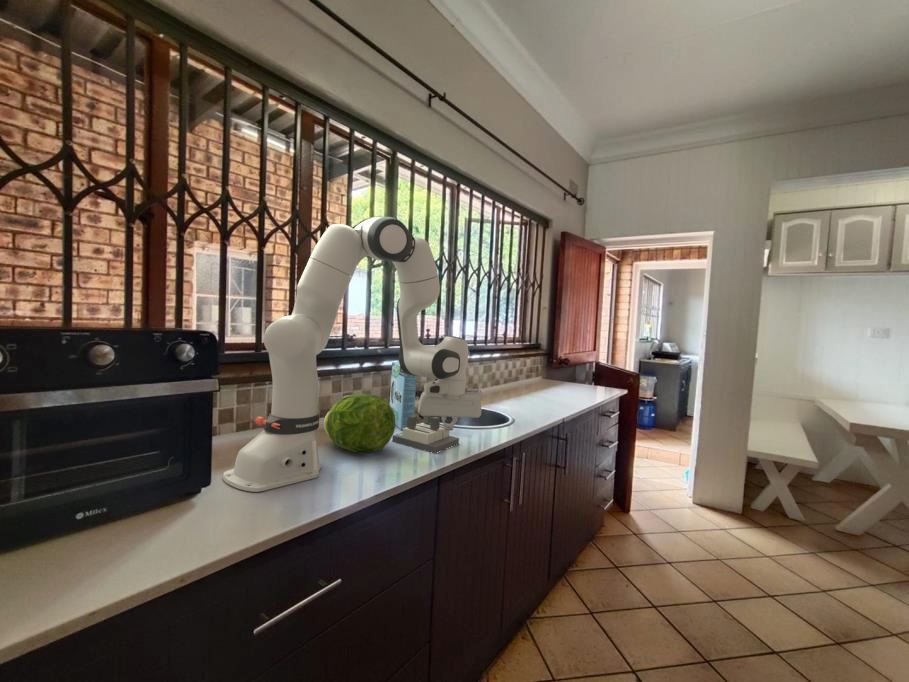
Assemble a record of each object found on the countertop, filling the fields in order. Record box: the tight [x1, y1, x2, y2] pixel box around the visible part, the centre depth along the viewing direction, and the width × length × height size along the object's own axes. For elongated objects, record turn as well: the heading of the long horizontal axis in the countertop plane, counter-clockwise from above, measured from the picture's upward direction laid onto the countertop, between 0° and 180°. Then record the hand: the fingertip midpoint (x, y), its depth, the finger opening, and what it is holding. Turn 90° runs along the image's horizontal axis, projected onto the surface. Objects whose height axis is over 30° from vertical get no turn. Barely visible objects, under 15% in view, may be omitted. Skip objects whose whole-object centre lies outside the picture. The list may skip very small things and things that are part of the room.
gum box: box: [389, 361, 417, 431], centre depth 156 cm, size 20×5×23 cm, turn 22°
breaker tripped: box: [430, 416, 441, 430], centre depth 132 cm, size 2×2×4 cm
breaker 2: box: [422, 416, 433, 424], centre depth 139 cm, size 2×2×4 cm
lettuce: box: [323, 393, 396, 454], centre depth 122 cm, size 17×23×17 cm
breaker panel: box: [391, 422, 460, 454], centre depth 134 cm, size 14×17×5 cm
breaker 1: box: [407, 415, 418, 429], centre depth 131 cm, size 2×2×4 cm
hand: (448, 430), depth 129 cm, fingers closed
